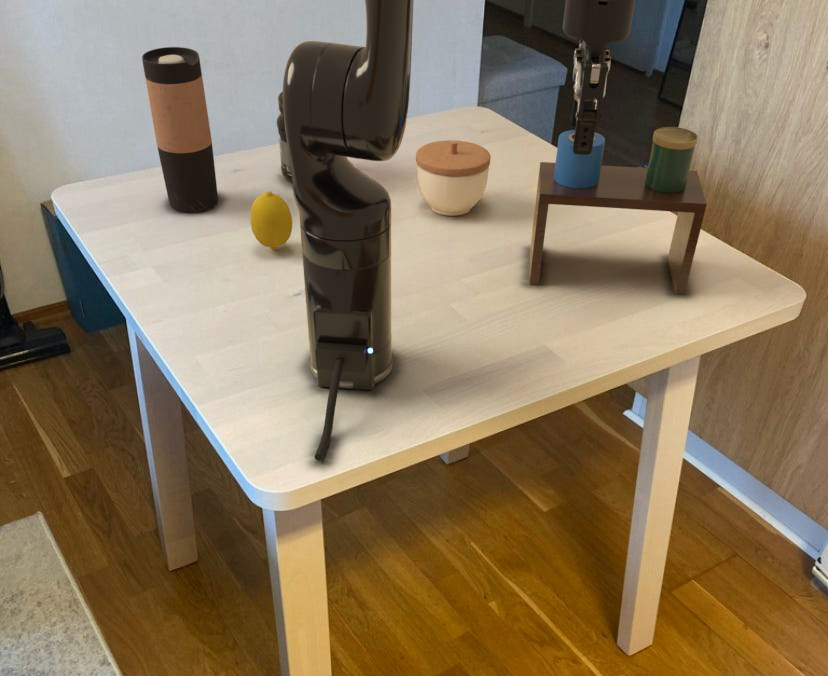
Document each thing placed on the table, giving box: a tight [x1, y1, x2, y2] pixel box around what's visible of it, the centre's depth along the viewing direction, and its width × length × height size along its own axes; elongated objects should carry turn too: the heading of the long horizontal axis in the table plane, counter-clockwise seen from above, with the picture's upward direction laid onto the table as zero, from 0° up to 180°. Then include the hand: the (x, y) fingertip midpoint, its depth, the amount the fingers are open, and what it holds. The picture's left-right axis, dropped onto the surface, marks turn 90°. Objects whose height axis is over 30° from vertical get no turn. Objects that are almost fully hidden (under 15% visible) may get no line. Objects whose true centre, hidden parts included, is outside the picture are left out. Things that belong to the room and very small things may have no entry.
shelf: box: [528, 161, 708, 296], centre depth 115 cm, size 10×20×12 cm, turn 84°
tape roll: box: [554, 129, 606, 189], centre depth 110 cm, size 6×6×5 cm
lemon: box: [250, 191, 293, 251], centre depth 120 cm, size 6×6×8 cm
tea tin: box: [645, 126, 699, 193], centre depth 109 cm, size 5×5×6 cm
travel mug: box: [141, 46, 219, 214], centre depth 126 cm, size 8×8×20 cm
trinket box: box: [415, 139, 492, 217], centre depth 130 cm, size 11×11×9 cm
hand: (580, 139), depth 108 cm, fingers open, 8 cm apart
